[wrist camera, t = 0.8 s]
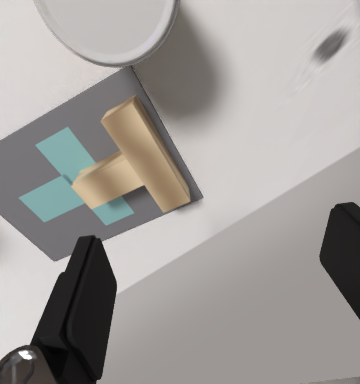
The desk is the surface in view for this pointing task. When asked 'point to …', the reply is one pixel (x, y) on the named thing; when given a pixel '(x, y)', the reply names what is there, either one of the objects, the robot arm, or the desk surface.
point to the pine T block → (133, 162)
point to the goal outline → (68, 182)
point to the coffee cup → (110, 27)
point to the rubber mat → (98, 149)
